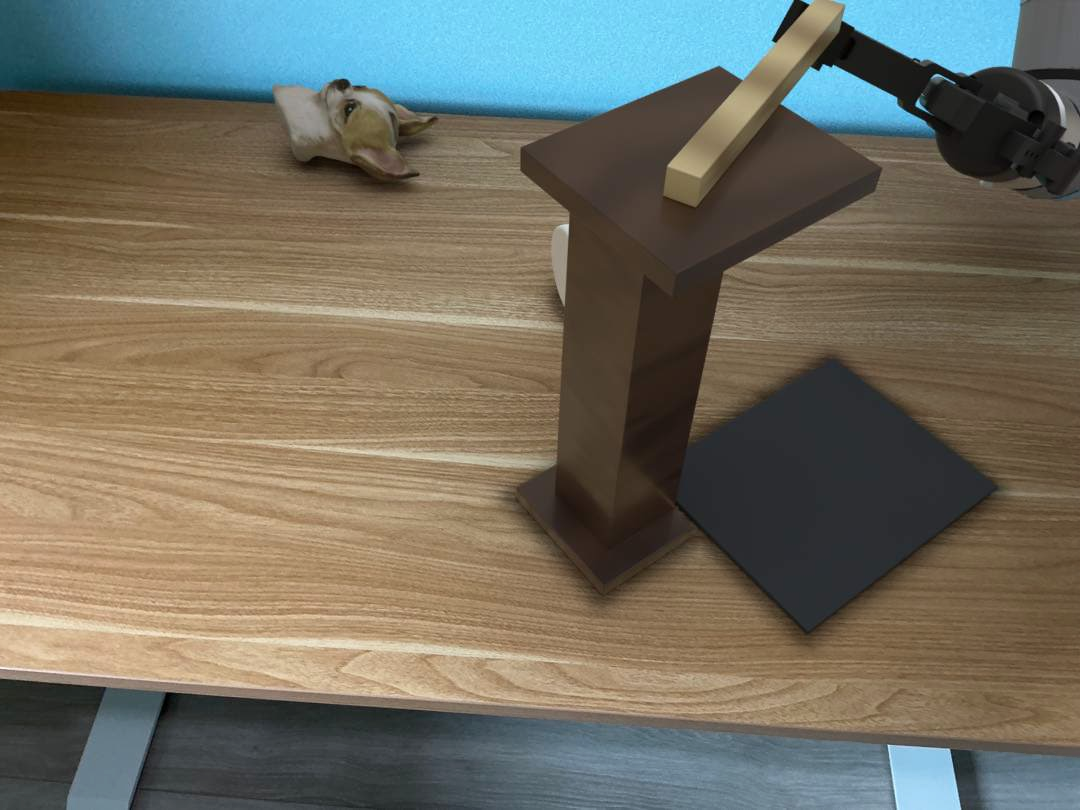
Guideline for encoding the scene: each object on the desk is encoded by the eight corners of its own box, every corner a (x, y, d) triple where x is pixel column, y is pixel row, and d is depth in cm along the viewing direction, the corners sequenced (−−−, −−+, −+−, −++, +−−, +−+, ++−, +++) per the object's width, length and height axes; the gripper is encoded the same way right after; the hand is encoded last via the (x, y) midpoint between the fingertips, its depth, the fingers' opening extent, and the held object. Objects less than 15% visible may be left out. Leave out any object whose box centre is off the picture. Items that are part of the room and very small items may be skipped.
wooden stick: (810, 24, 60) (817, -5, 58) (838, 33, 59) (846, 3, 58) (662, 196, 48) (666, 165, 47) (695, 208, 48) (701, 177, 46)
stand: (772, 499, 72) (883, 167, 50) (612, 607, 66) (660, 282, 44) (662, 398, 78) (719, 65, 56) (506, 488, 72) (503, 153, 50)
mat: (996, 489, 73) (998, 485, 72) (807, 634, 64) (808, 631, 64) (832, 360, 81) (833, 357, 81) (646, 475, 73) (646, 471, 72)
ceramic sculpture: (286, 40, 95) (440, 62, 95) (296, 118, 102) (440, 139, 102) (251, 101, 88) (417, 125, 88) (264, 181, 95) (418, 203, 95)
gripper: (1128, 268, 66) (1022, 246, 51) (845, 100, 79) (692, 41, 64) (1209, 167, 63) (1122, 111, 47) (899, 9, 76) (752, -76, 60)
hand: (875, 71), depth 56 cm, fingers open, 13 cm apart
